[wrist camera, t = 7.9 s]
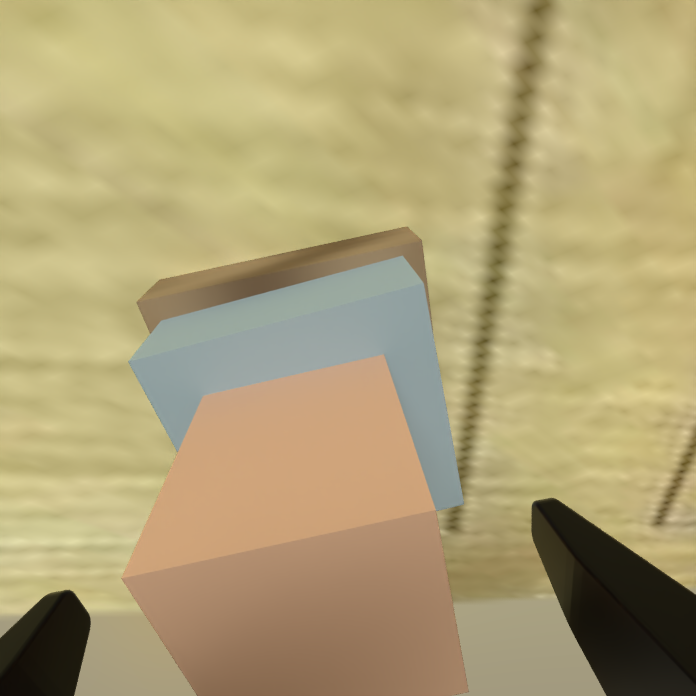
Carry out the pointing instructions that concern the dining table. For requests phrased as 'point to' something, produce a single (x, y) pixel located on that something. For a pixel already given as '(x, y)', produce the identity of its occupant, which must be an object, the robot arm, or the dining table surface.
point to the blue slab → (310, 353)
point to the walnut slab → (277, 274)
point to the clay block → (301, 546)
